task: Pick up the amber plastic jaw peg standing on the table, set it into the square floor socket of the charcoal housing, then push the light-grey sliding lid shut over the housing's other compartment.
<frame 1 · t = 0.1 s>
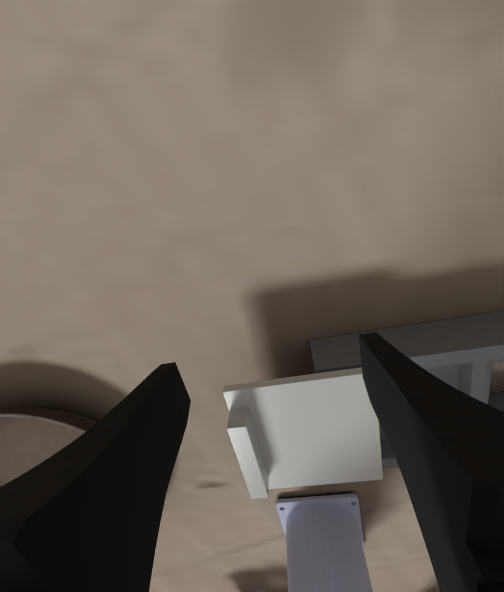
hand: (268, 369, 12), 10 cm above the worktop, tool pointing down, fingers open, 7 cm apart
plant saucer: (69, 464, 32), on the worktop
housing: (436, 376, 24), on the worktop
lid: (308, 444, 21), point 5 cm above the worktop, slide at 6.0 cm
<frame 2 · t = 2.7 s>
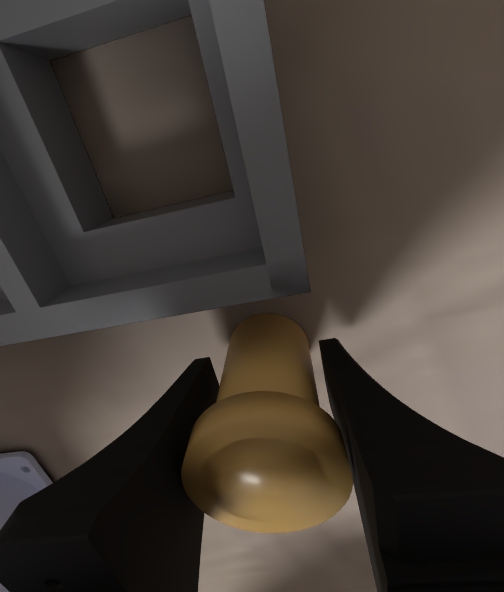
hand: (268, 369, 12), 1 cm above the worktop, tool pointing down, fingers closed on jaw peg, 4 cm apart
housing: (16, 165, 11), on the worktop
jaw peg: (268, 348, 14), on the worktop, touching gripper
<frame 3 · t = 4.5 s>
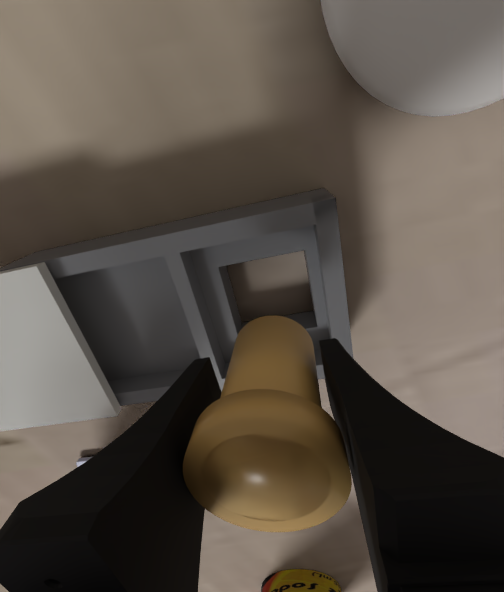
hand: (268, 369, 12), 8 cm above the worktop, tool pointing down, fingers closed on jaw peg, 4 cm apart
housing: (194, 297, 21), on the worktop
lid: (0, 367, 18), point 5 cm above the worktop, slide at 6.0 cm
yellow tin can: (300, 587, 36), on the worktop
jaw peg: (273, 350, 14), point 7 cm above the worktop, touching gripper
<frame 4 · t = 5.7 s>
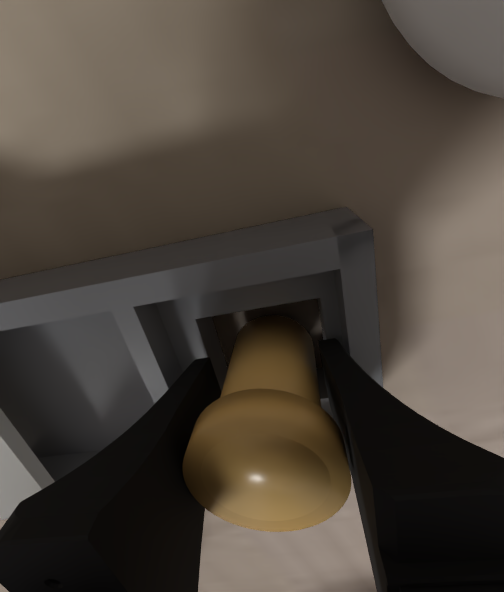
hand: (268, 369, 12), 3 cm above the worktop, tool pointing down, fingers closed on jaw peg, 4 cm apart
housing: (168, 349, 15), on the worktop
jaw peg: (273, 349, 14), point 1 cm above the worktop, touching gripper
when the fingers open (3 cm above the worktop, at t = 6.4 s): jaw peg drops 1 cm, resting in housing.
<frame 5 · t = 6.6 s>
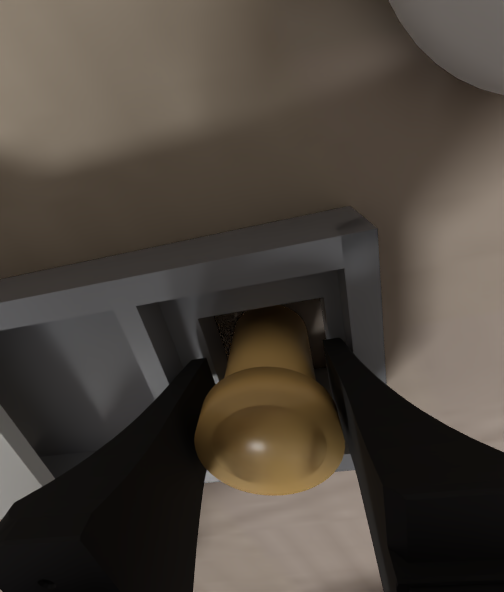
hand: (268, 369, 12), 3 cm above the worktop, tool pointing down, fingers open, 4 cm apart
housing: (170, 348, 15), on the worktop
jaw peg: (270, 336, 15), resting in housing
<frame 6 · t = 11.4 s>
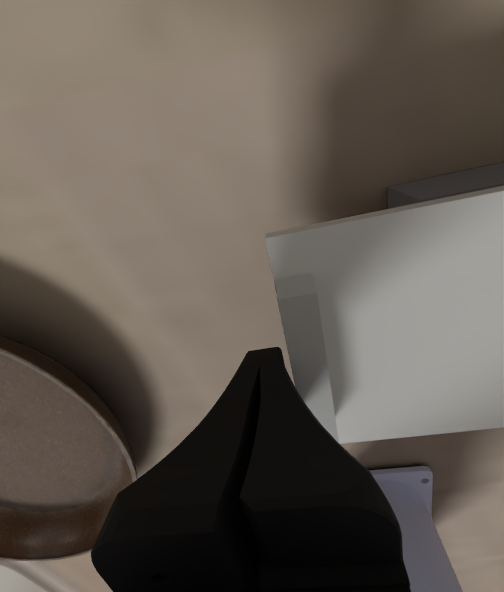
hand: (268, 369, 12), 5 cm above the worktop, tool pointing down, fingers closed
plant saucer: (10, 426, 22), on the worktop
lid: (422, 350, 11), point 5 cm above the worktop, slide at 5.2 cm, touching gripper
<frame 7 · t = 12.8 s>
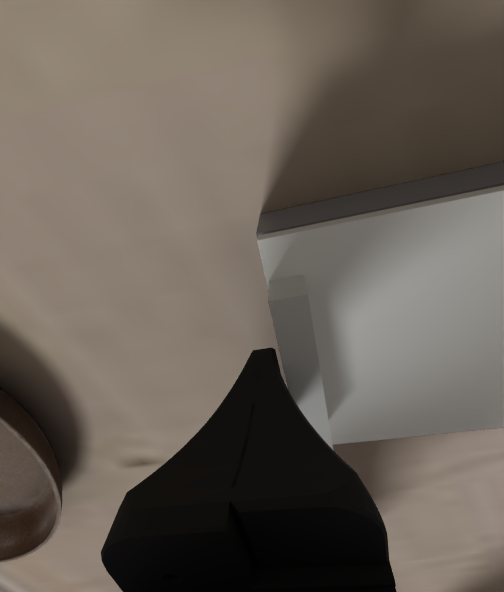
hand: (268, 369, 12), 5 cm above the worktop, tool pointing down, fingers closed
housing: (465, 277, 15), on the worktop
lid: (415, 351, 11), point 5 cm above the worktop, slide at -0.1 cm, touching gripper
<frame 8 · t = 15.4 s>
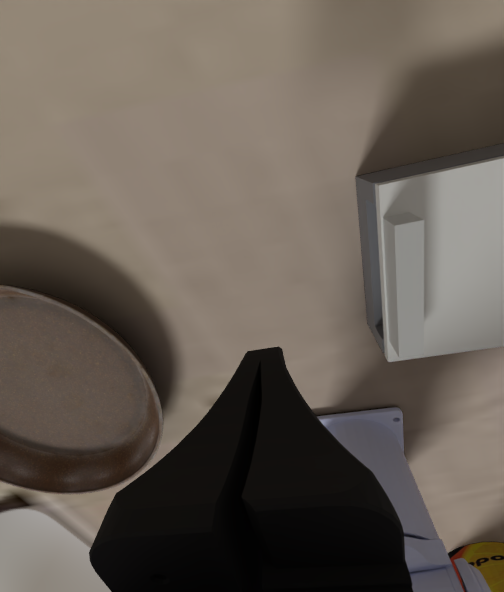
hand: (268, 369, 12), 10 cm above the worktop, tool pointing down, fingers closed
plant saucer: (54, 379, 27), on the worktop
lid: (489, 271, 15), point 5 cm above the worktop, slide at 0.0 cm
yellow tin can: (481, 563, 35), on the worktop
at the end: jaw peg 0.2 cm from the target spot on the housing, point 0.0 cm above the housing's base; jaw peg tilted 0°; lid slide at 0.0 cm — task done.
